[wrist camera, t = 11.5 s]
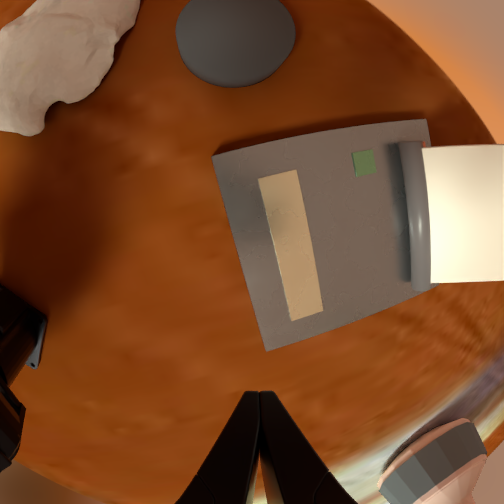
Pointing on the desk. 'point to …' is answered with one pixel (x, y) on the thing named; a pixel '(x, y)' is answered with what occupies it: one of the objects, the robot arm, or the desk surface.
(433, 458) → the desk lamp
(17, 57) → the decorative stone
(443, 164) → the bowl
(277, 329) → the grey flat slab
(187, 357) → the desk surface
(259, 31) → the grey river pebble
